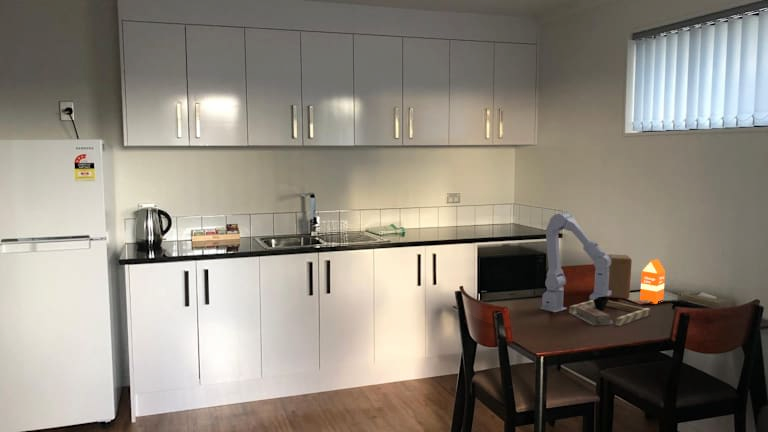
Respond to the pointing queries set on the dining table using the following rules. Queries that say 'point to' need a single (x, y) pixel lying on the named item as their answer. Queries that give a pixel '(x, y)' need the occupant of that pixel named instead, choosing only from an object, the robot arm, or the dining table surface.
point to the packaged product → (592, 315)
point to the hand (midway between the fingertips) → (599, 313)
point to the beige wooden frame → (624, 319)
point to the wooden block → (619, 276)
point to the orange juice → (652, 282)
